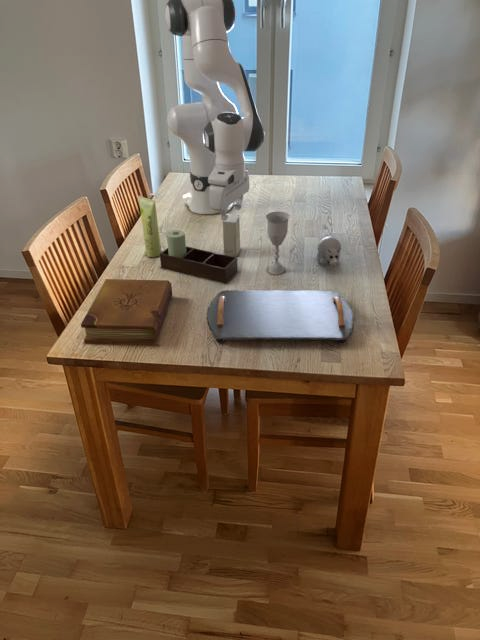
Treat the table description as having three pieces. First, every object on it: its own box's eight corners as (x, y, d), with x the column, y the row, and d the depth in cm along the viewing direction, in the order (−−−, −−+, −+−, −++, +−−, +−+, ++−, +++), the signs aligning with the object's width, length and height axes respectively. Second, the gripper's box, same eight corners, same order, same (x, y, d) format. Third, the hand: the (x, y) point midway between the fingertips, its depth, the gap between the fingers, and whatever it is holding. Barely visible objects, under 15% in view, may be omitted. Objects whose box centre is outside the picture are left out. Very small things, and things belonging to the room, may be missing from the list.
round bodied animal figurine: (321, 275, 160) (323, 250, 155) (314, 257, 170) (316, 233, 165) (344, 274, 160) (347, 249, 156) (336, 256, 170) (339, 232, 165)
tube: (143, 258, 171) (136, 201, 160) (145, 251, 175) (138, 195, 164) (161, 257, 171) (154, 200, 160) (162, 250, 175) (156, 194, 164)
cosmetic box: (236, 257, 170) (236, 222, 163) (223, 256, 171) (222, 221, 164) (240, 248, 175) (240, 214, 169) (227, 247, 176) (226, 213, 169)
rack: (174, 257, 171) (173, 243, 168) (237, 271, 162) (237, 257, 160) (161, 268, 165) (159, 253, 162) (225, 283, 156) (225, 269, 154)
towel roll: (175, 259, 170) (172, 228, 163) (190, 263, 167) (188, 231, 161) (166, 267, 165) (163, 235, 159) (181, 270, 163) (178, 238, 157)
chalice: (276, 262, 167) (277, 209, 157) (292, 269, 163) (294, 215, 153) (260, 270, 163) (260, 216, 153) (276, 278, 159) (278, 223, 149)
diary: (157, 345, 132) (155, 326, 128) (84, 343, 133) (80, 324, 129) (172, 297, 151) (171, 279, 147) (108, 295, 152) (105, 278, 148)
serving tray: (203, 347, 131) (202, 326, 127) (210, 298, 150) (209, 279, 146) (359, 348, 130) (362, 327, 126) (345, 298, 149) (348, 279, 145)
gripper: (236, 160, 167) (237, 201, 174) (204, 179, 151) (207, 224, 159) (254, 162, 164) (254, 204, 172) (224, 182, 149) (225, 227, 157)
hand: (231, 214), depth 165 cm, fingers open, 8 cm apart
